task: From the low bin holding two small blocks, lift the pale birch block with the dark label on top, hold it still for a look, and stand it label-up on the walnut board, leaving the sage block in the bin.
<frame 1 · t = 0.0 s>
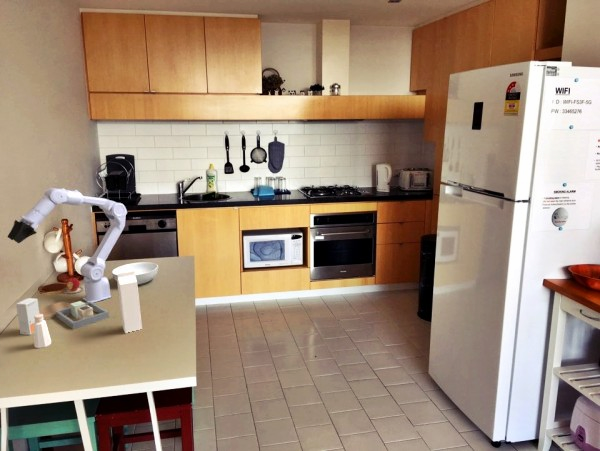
hand: (12, 240, 180), 32 cm above the table, tool tilted 50°, fingers open, 7 cm apart
skincare box: (31, 331, 176), on the table
serving bowl: (136, 282, 227), on the table
milk: (132, 329, 176), on the table
walnut board: (52, 312, 193), on the table
birch block: (86, 320, 185), resting in bin
bin: (82, 317, 187), on the table
apple: (74, 291, 217), on the table
pepper shaker: (43, 345, 165), on the table
sage block: (79, 315, 190), resting in bin
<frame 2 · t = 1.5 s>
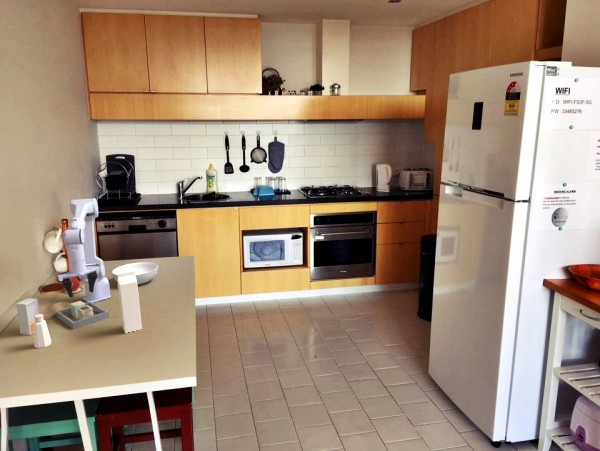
hand: (81, 294, 182), 11 cm above the table, tool pointing down, fingers open, 7 cm apart
nothing on the table moved.
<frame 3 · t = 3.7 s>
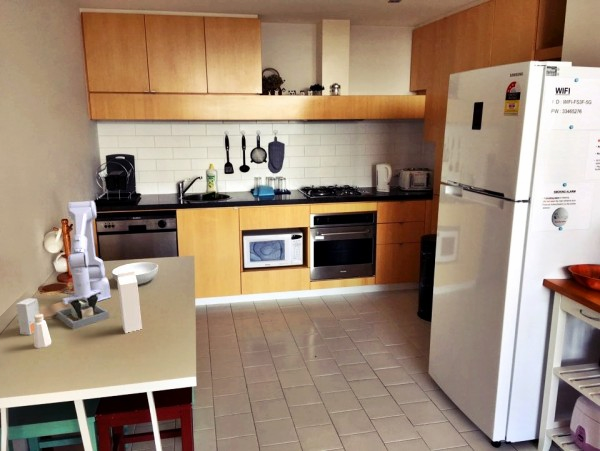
hand: (85, 316, 184), 2 cm above the table, tool pointing down, fingers closed on birch block, 4 cm apart
birch block: (86, 319, 185), resting in bin, touching gripper
everything else where it was.
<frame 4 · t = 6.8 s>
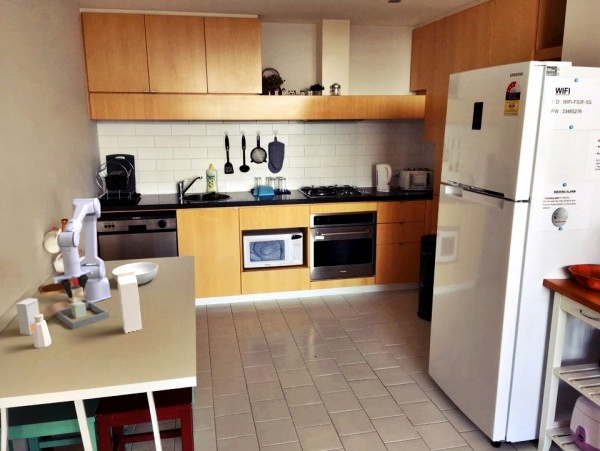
hand: (76, 295, 185), 9 cm above the table, tool pointing down, fingers closed on birch block, 4 cm apart
birch block: (76, 300, 185), point 8 cm above the table, touching gripper
everything else where it was.
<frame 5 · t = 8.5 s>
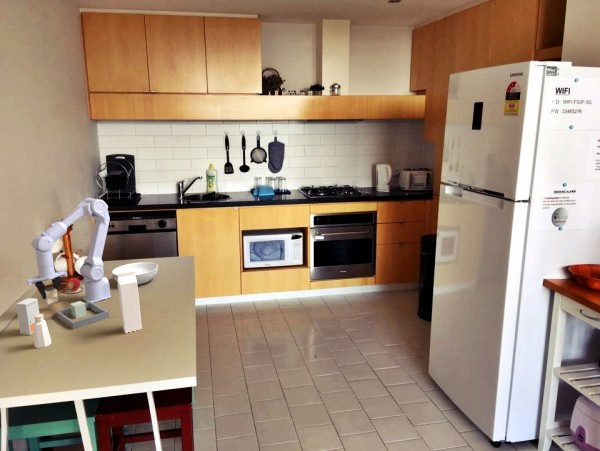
hand: (50, 297, 192), 7 cm above the table, tool pointing down, fingers closed on birch block, 4 cm apart
birch block: (51, 301, 192), point 5 cm above the table, touching gripper
everything else where it was.
when the fingers open (4 cm above the table, at t = 9.8 s): birch block stays where it is, resting on walnut board.
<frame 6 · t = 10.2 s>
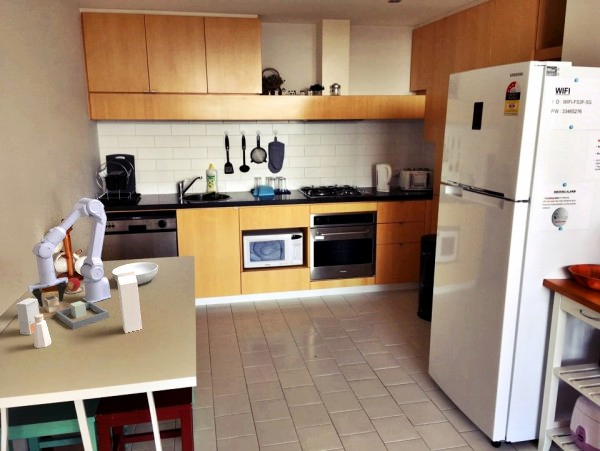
hand: (51, 303, 192), 4 cm above the table, tool pointing down, fingers open, 7 cm apart
birch block: (52, 309, 193), point 1 cm above the table, touching walnut board
everything else where it was.
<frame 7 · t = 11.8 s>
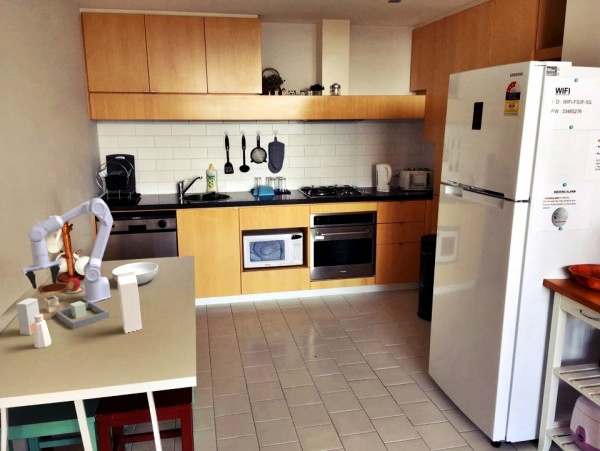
hand: (44, 285, 197), 9 cm above the table, tool pointing down, fingers open, 7 cm apart
nothing on the table moved.
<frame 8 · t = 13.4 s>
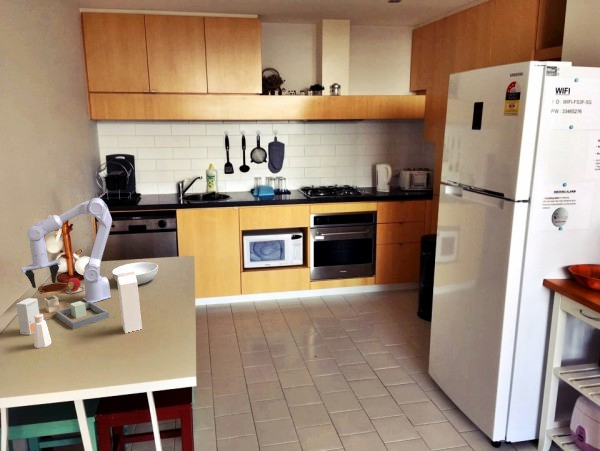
hand: (44, 284, 198), 9 cm above the table, tool pointing down, fingers open, 7 cm apart
nothing on the table moved.
at the end: birch block inside the target area on the walnut board (0.3 cm from its centre), point 1.2 cm above the walnut board's base; birch block tilted 0°; sage block moved 0.1 cm from its start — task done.
